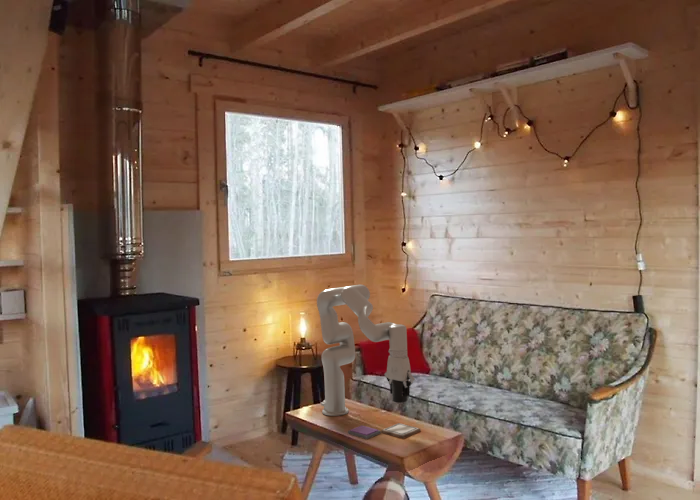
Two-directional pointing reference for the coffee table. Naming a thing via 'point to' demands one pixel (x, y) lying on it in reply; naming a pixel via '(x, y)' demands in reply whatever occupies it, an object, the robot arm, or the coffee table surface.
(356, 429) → the ink pad
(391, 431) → the white square tile
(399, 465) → the coffee table surface
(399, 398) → the supplement bottle
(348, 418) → the coffee table surface
